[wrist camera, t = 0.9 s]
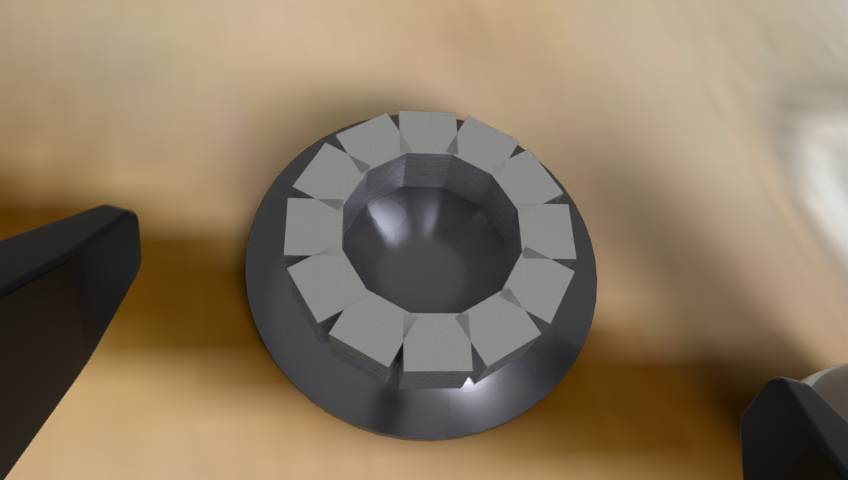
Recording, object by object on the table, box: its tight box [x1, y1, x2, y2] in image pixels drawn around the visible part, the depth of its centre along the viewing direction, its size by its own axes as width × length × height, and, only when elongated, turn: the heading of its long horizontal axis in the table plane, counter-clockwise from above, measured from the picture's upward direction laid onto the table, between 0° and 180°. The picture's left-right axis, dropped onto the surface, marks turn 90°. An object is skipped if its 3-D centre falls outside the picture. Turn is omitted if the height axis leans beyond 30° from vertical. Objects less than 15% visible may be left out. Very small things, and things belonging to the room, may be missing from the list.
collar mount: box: [245, 111, 597, 441], centre depth 25 cm, size 14×14×3 cm
